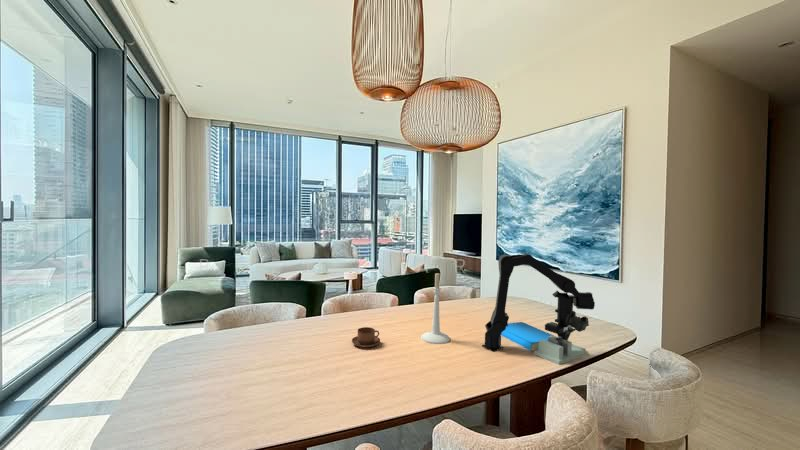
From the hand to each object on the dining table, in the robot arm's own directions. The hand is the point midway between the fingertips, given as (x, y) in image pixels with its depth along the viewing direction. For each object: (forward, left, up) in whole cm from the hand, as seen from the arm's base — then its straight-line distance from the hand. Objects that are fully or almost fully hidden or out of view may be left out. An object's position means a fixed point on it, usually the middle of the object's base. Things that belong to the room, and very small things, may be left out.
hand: (564, 345), depth 139 cm
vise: (-2, 0, -3) cm, 4 cm away
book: (0, +19, -4) cm, 19 cm away
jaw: (-3, 0, -2) cm, 4 cm away
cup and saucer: (-68, +47, -4) cm, 83 cm away
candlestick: (-37, +38, -4) cm, 53 cm away
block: (-6, 0, -2) cm, 6 cm away
